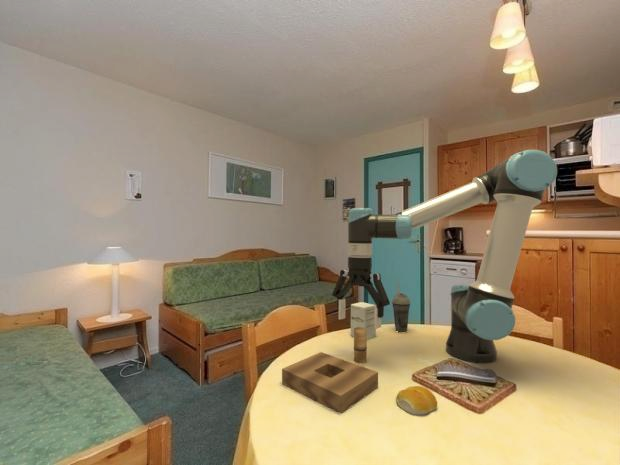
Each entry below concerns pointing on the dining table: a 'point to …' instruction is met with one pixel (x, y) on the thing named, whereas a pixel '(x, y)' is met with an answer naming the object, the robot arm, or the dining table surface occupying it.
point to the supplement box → (363, 318)
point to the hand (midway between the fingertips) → (358, 323)
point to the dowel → (360, 345)
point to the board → (330, 380)
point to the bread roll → (416, 400)
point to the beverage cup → (401, 311)
